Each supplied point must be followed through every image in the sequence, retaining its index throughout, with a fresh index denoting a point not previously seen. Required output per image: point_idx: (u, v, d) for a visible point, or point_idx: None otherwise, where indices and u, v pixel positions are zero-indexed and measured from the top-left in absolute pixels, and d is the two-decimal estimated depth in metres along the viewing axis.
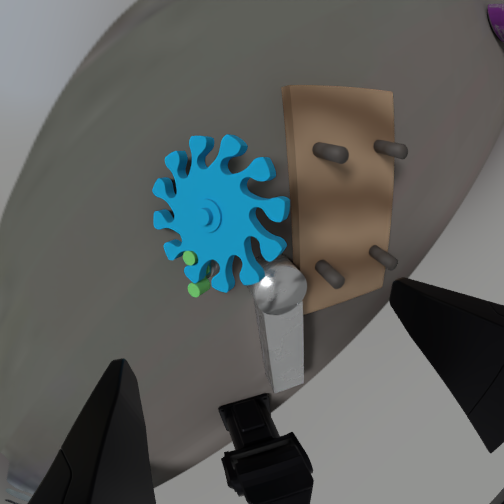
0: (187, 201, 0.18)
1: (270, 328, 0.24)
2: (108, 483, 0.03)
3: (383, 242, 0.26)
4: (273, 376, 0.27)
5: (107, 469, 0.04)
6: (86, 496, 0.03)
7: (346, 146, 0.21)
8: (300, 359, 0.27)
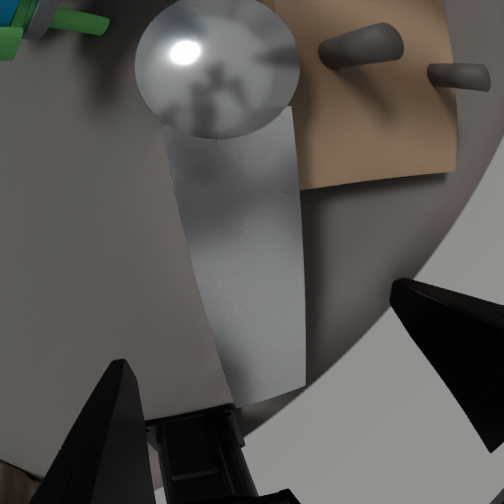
0: None
1: (190, 190, 0.07)
2: (108, 483, 0.03)
3: None
4: (226, 367, 0.11)
5: (107, 469, 0.04)
6: (86, 496, 0.03)
7: None
8: (297, 322, 0.11)
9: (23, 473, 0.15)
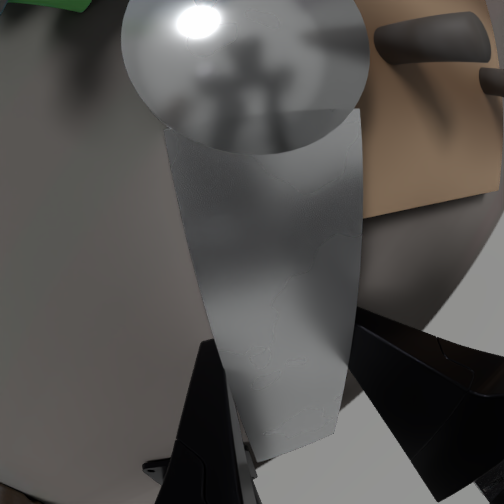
0: None
1: (211, 235, 0.05)
2: (240, 464, 0.04)
3: None
4: (249, 431, 0.08)
5: (238, 449, 0.04)
6: (235, 481, 0.03)
7: None
8: (336, 381, 0.08)
9: (22, 495, 0.12)
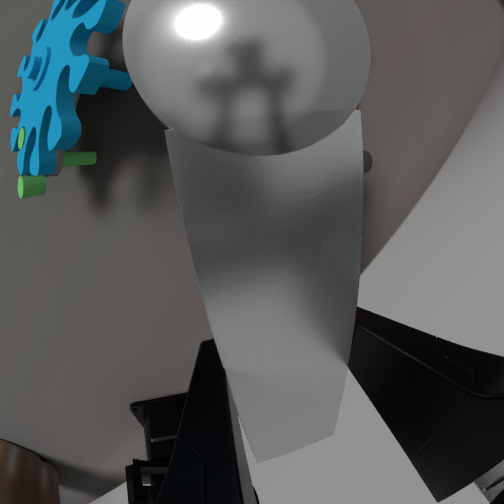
0: None
1: (212, 236, 0.05)
2: (240, 464, 0.04)
3: None
4: (249, 432, 0.08)
5: (238, 449, 0.04)
6: (235, 481, 0.03)
7: None
8: (336, 381, 0.08)
9: (36, 455, 0.21)
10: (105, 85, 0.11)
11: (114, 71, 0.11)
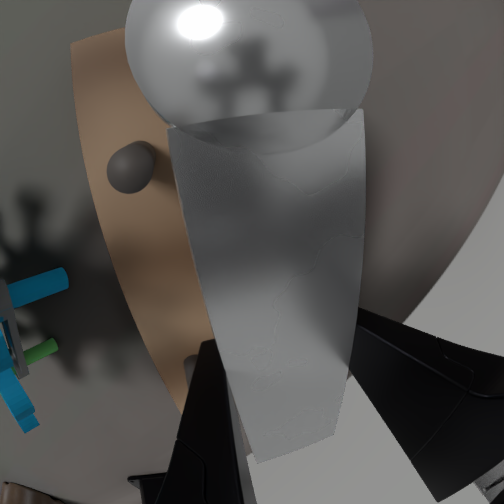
0: None
1: (214, 235, 0.05)
2: (240, 464, 0.04)
3: None
4: (250, 433, 0.08)
5: (238, 449, 0.04)
6: (235, 481, 0.03)
7: None
8: (337, 382, 0.08)
9: (48, 496, 0.20)
10: (40, 298, 0.10)
11: (43, 283, 0.10)
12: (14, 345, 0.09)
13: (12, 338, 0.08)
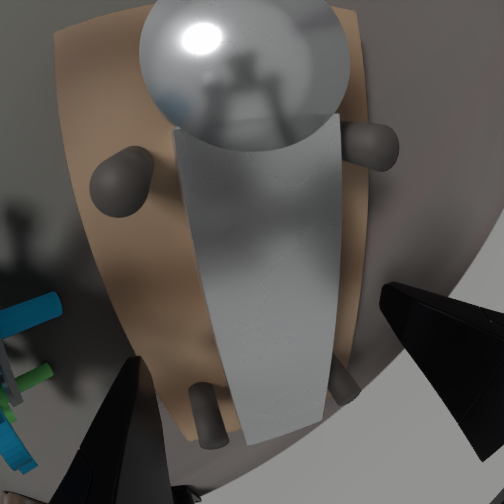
0: None
1: (209, 218, 0.06)
2: (130, 482, 0.04)
3: (342, 337, 0.13)
4: (240, 410, 0.09)
5: (129, 468, 0.04)
6: (110, 497, 0.03)
7: None
8: (322, 363, 0.09)
9: None
10: (31, 326, 0.08)
11: (34, 311, 0.08)
12: (6, 376, 0.07)
13: (3, 369, 0.07)
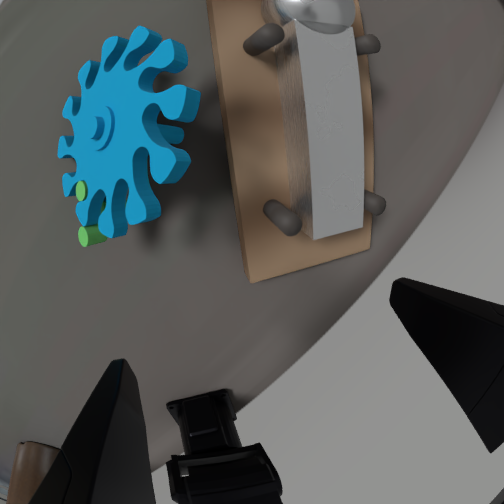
0: (87, 115, 0.11)
1: (306, 52, 0.11)
2: (108, 483, 0.03)
3: (365, 182, 0.19)
4: (313, 184, 0.14)
5: (107, 469, 0.04)
6: (86, 496, 0.03)
7: None
8: (359, 155, 0.14)
9: None
10: None
11: (168, 129, 0.14)
12: None
13: None
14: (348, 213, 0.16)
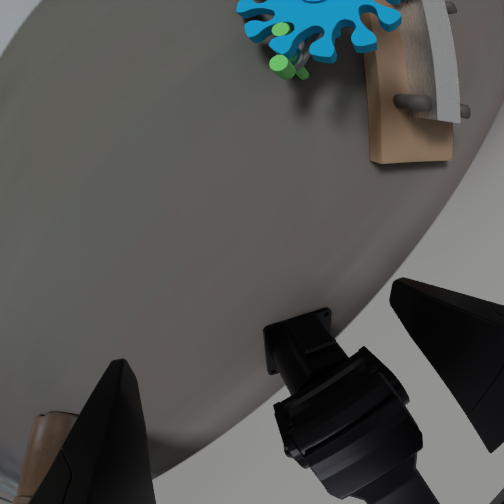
0: None
1: None
2: (108, 483, 0.03)
3: None
4: (436, 78, 0.14)
5: (107, 469, 0.04)
6: (86, 496, 0.03)
7: None
8: (455, 70, 0.14)
9: None
10: None
11: None
12: (320, 33, 0.13)
13: None
14: (453, 108, 0.16)
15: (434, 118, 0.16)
